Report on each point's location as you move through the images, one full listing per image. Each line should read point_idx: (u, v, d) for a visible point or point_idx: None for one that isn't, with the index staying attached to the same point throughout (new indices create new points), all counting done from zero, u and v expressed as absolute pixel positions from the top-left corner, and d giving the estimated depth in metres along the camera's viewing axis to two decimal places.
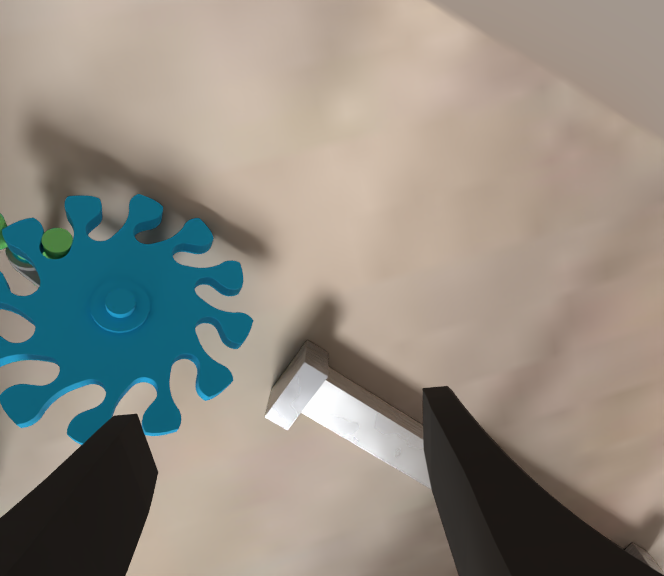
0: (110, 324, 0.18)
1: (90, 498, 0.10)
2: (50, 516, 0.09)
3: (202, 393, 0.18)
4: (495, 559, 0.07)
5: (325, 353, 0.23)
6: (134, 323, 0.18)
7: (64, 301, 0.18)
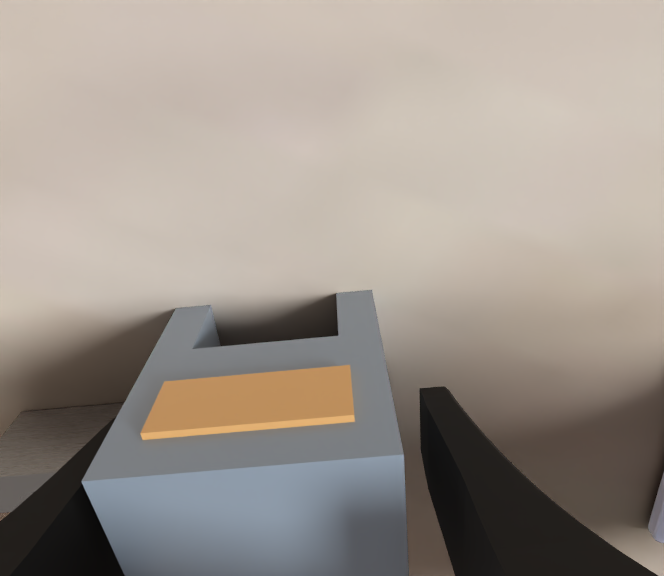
0: None
1: None
2: (54, 516, 0.09)
3: None
4: (490, 559, 0.07)
5: None
6: None
7: None
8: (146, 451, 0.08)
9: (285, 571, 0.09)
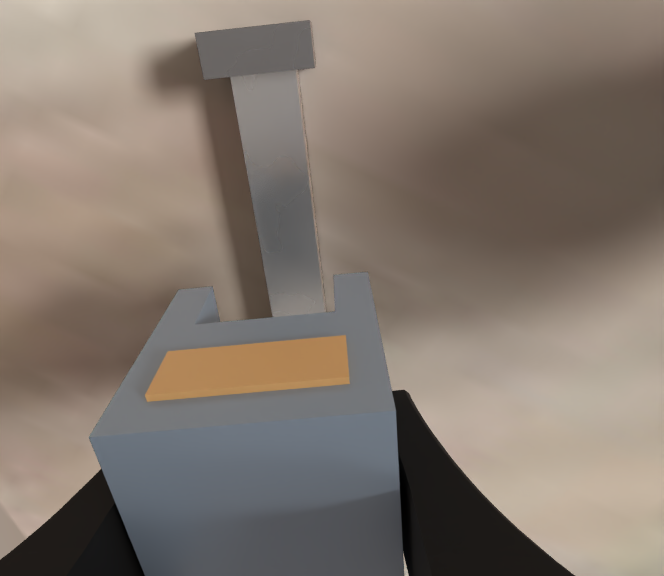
0: None
1: None
2: (106, 511, 0.09)
3: None
4: (425, 564, 0.07)
5: None
6: None
7: None
8: (150, 411, 0.08)
9: (283, 531, 0.09)
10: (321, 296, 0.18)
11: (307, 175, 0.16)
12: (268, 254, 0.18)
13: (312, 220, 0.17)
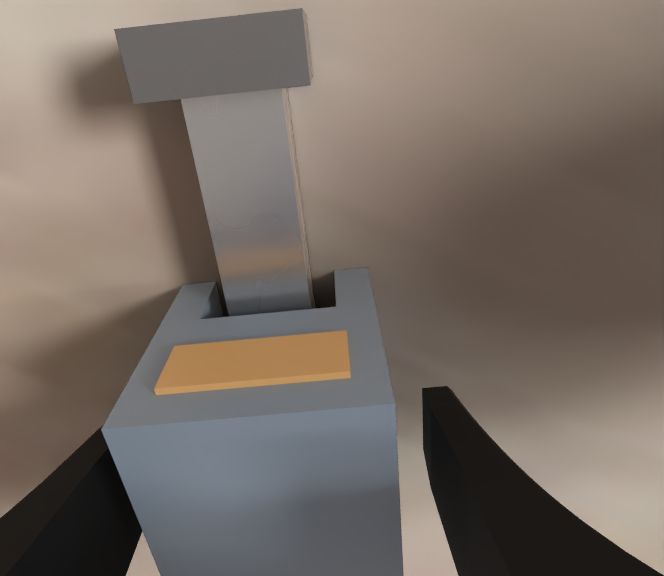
0: None
1: (90, 498, 0.10)
2: (50, 516, 0.09)
3: None
4: (495, 559, 0.07)
5: None
6: None
7: None
8: (159, 404, 0.09)
9: (286, 518, 0.09)
10: None
11: (300, 240, 0.11)
12: None
13: (308, 301, 0.12)
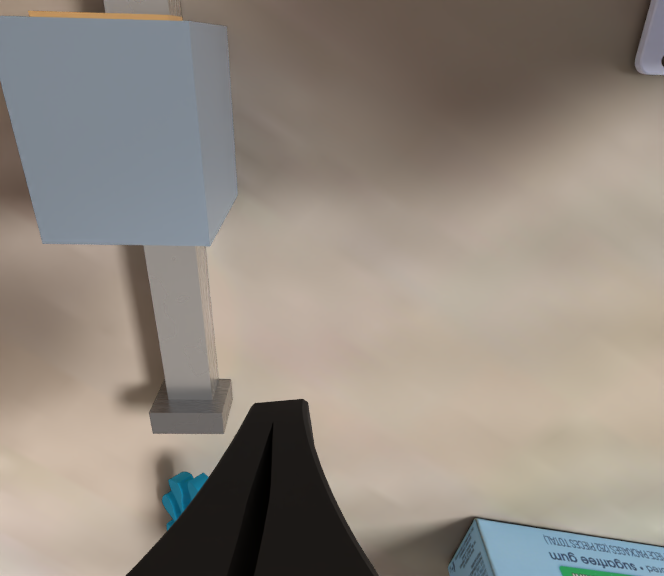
0: None
1: (262, 483, 0.10)
2: (245, 500, 0.09)
3: None
4: None
5: (163, 385, 0.24)
6: None
7: None
8: (30, 17, 0.13)
9: (117, 127, 0.13)
10: None
11: None
12: None
13: None
